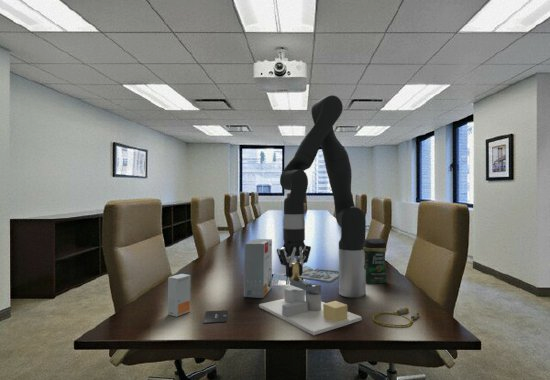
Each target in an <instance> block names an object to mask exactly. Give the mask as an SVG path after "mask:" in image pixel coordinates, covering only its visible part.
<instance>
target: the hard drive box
mask: <svg viewBox="0 0 550 380" xmlns="http://www.w3.org/2000/svg"><path fill="white" fill-rule="evenodd" d="M243 246H244V252H243V253H244V255H243V257H244V259H243V261H244V262H243V263H244V265H243V297H244V298H256V299H257V298H258V299H263V298H265V296H266V295H267V294H268V293H269V291H271V289H272V287H273V282H272V281H273V261H272V260H273V239H267V238H254V239H252V240H250V241H248V242H245V243H244V245H243Z"/></svg>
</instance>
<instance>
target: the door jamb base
mask: <svg viewBox="0 0 550 380" xmlns="http://www.w3.org/2000/svg"><path fill="white" fill-rule="evenodd" d="M258 307H259V308H260V309H262V310H264V311H266V312H268V313H270V314H272V315H273V316H276V317H278V318H279V319H282V320H283V321H285V322H287V323H289V324H291V325H293V326H295V327H296V328H299V329H301V330H302V331H304V332H306V333H308V334H310V335H312V336H316V335H318V334H322V333H326V332H328V331H332V330H334V329H335V330H336V329H338V328H341V327H345V326H348V325H350V324H353V323H357V322H360V321H362V318H363V317H362V316H361V315H359V314H355V313H353V312H350V311H348V304H346V303H342V302H339V301H338V300H333V301H329V302H324V301H322V292H321V293H318V294H310V293H307V292H306V290H303V289H300V288H298V287H295V286H291V287H286V288H284V298H282V299H281V298H280V299H277V300H276V299H275V300H272V301H267V302H263V303H259V304H258Z"/></svg>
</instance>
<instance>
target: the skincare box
mask: <svg viewBox="0 0 550 380" xmlns="http://www.w3.org/2000/svg"><path fill="white" fill-rule="evenodd" d="M191 280H192V277H191V274H186V273H179V274H175V275H173V276H169V277H167V315H169V316H173V317H179V316H181V315H185V314H186V313H190V312H191Z"/></svg>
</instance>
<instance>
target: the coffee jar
mask: <svg viewBox="0 0 550 380" xmlns="http://www.w3.org/2000/svg"><path fill="white" fill-rule="evenodd" d="M387 250H388V248H387V242H386V240H385V239H383V238H365V242H364V268H365V270H366V283H369V284H385V283H386V282H387V281H388V280H387V279H388V278H387V277H388V276H387V267H386V252H387Z"/></svg>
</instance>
